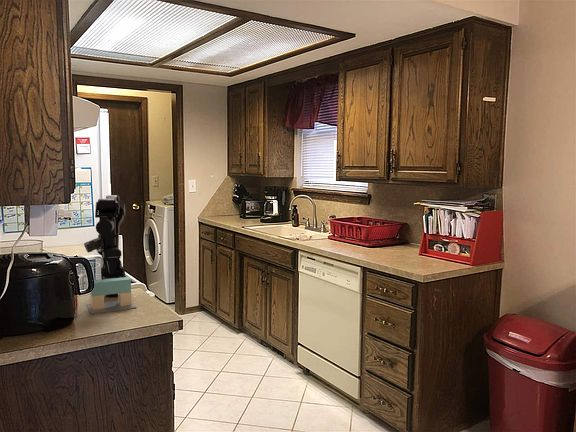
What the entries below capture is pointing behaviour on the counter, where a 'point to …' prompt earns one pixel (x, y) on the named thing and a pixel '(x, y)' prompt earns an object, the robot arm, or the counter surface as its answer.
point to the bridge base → (110, 303)
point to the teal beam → (111, 286)
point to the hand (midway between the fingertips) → (108, 271)
